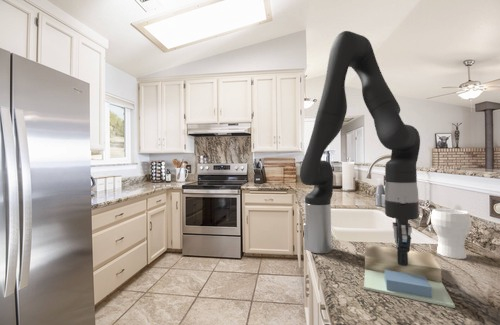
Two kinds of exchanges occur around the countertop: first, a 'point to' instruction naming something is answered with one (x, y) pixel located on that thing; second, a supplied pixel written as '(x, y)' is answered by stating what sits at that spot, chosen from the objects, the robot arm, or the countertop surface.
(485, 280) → the countertop surface
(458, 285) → the countertop surface
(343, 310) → the countertop surface
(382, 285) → the mat
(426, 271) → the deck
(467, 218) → the white vase
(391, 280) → the tile
